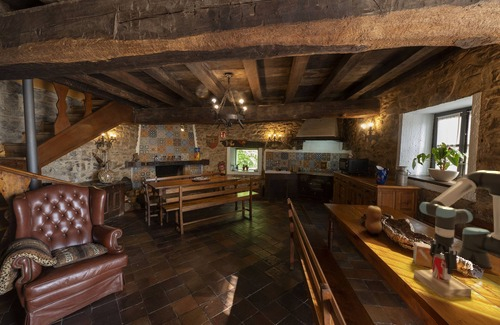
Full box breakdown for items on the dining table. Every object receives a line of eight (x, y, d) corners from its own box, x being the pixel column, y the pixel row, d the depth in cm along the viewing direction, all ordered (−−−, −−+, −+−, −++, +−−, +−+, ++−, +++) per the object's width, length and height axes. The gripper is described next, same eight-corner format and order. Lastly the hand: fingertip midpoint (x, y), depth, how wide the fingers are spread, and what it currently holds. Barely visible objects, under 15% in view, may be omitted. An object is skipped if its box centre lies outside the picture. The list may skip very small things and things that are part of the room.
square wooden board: (439, 276, 115) (439, 269, 115) (470, 296, 99) (471, 288, 99) (414, 276, 115) (414, 270, 114) (442, 297, 99) (442, 289, 98)
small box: (415, 264, 127) (416, 245, 126) (413, 259, 133) (414, 241, 132) (431, 268, 123) (432, 248, 122) (428, 263, 129) (429, 244, 128)
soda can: (431, 273, 112) (432, 251, 111) (449, 278, 107) (450, 256, 106) (432, 279, 106) (434, 256, 106) (451, 285, 102) (453, 261, 101)
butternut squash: (385, 236, 169) (386, 208, 168) (369, 236, 170) (371, 208, 168) (375, 229, 183) (376, 204, 182) (361, 229, 184) (362, 204, 182)
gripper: (422, 227, 115) (420, 263, 117) (453, 243, 96) (450, 286, 97) (436, 228, 115) (433, 264, 116) (470, 244, 95) (466, 287, 96)
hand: (441, 274), depth 107 cm, fingers closed on soda can, 7 cm apart
